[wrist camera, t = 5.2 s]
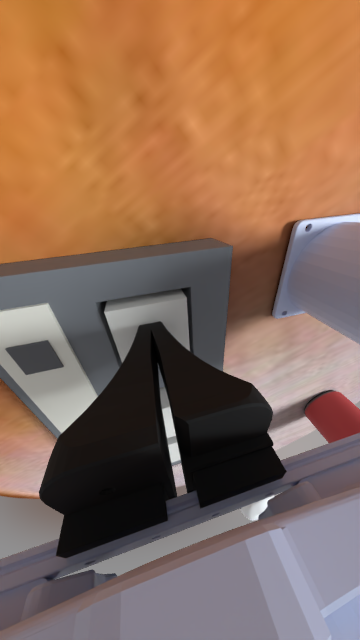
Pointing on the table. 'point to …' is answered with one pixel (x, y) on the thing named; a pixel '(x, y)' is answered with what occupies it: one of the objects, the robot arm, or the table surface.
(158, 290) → the button board
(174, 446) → the key
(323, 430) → the beer can
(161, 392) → the key middle
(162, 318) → the key
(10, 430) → the table surface
